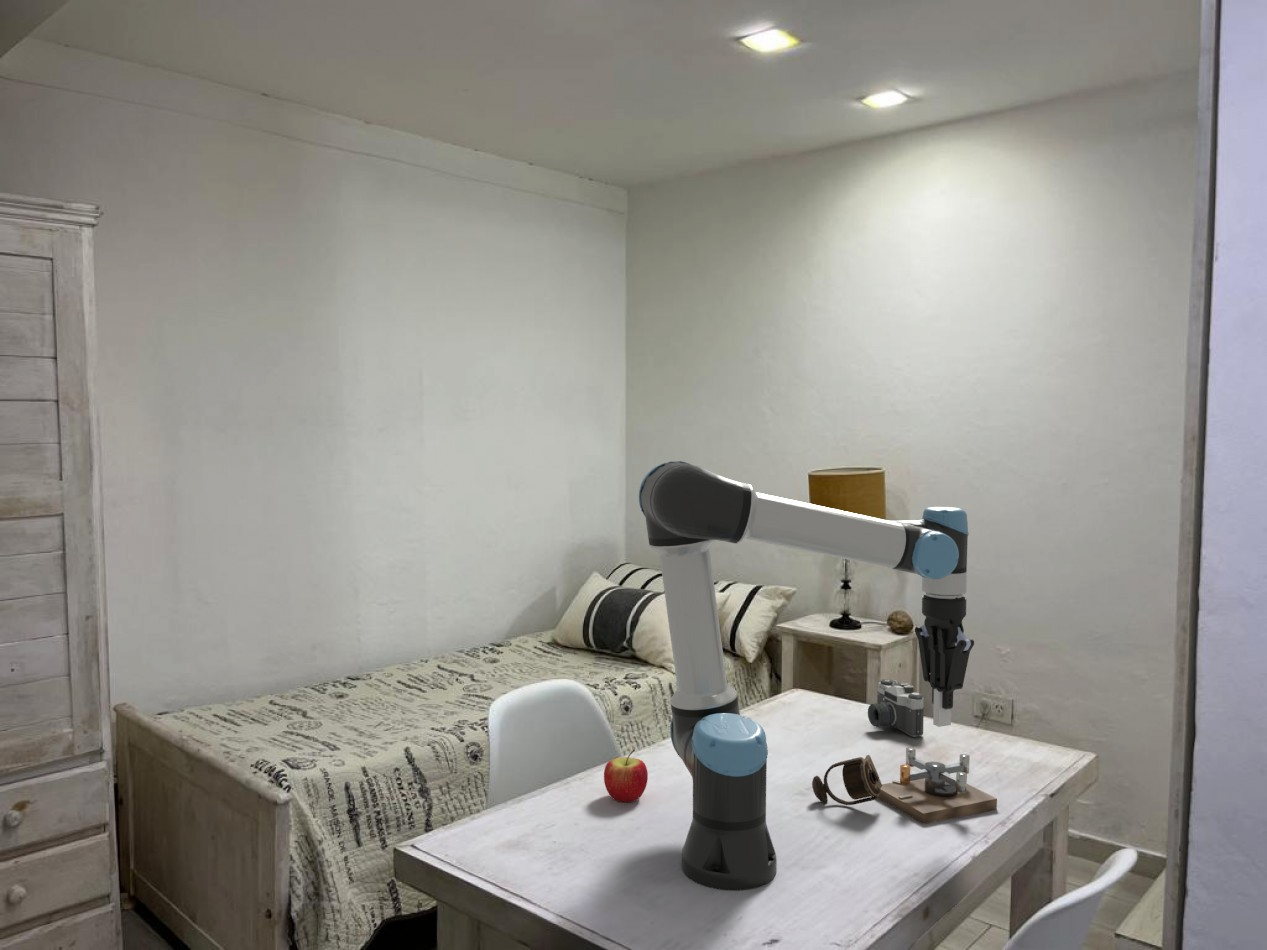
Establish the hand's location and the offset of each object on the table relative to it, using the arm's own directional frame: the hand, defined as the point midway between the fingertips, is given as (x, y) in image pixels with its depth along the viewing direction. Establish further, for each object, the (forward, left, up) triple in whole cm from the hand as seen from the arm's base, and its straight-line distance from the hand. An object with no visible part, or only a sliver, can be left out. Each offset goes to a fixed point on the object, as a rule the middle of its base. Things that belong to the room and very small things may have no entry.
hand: (942, 724), depth 174 cm
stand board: (+4, +7, -18) cm, 19 cm away
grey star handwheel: (+4, +7, -16) cm, 17 cm away
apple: (-49, +31, -18) cm, 60 cm away
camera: (+25, +46, -18) cm, 55 cm away
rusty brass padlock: (-13, +11, -18) cm, 24 cm away
